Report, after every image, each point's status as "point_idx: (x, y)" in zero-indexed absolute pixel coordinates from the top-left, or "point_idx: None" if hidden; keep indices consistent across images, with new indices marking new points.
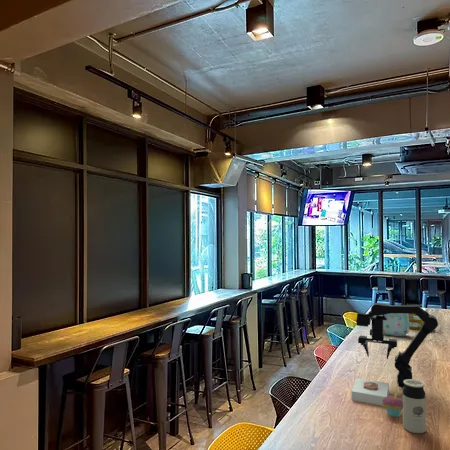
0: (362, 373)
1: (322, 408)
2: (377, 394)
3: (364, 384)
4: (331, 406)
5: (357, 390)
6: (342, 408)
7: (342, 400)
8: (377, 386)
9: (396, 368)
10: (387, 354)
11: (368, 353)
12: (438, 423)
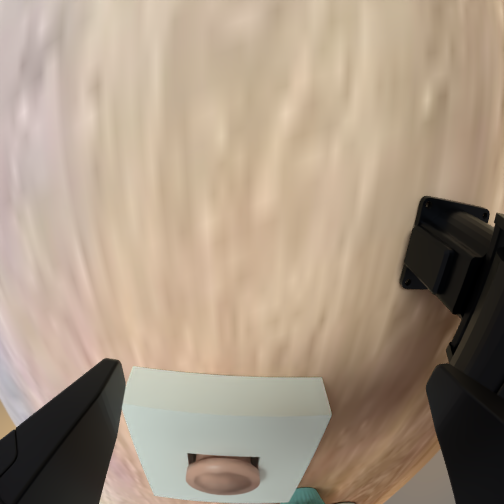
0: (124, 79)
1: (109, 494)
2: (255, 499)
3: (193, 487)
4: (122, 490)
5: (173, 492)
6: (153, 495)
7: (133, 470)
8: (257, 485)
9: (452, 363)
10: (452, 469)
11: (108, 434)
12: (401, 479)
